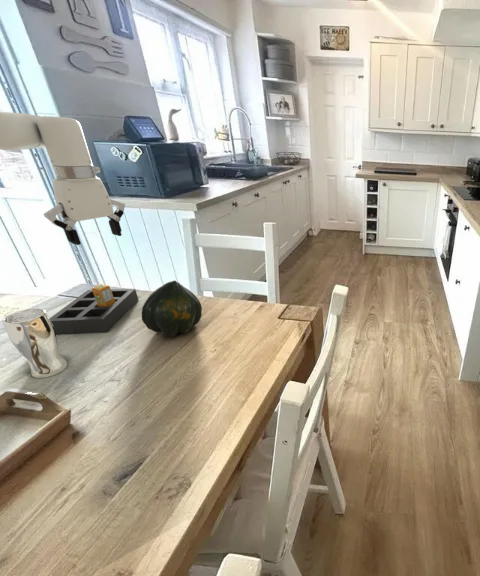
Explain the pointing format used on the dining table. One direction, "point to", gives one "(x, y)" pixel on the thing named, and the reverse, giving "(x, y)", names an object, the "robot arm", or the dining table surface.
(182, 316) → the squash
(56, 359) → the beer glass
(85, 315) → the holder
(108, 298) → the supplement box
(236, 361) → the dining table surface
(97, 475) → the dining table surface
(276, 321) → the dining table surface
